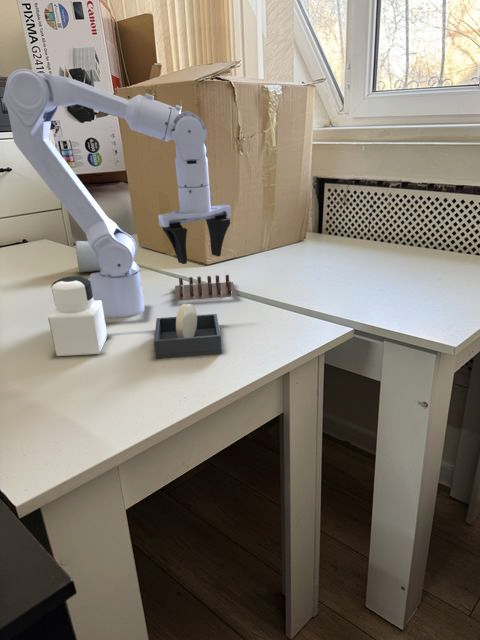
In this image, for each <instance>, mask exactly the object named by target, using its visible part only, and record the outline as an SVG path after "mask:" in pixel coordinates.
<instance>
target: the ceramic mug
mask: <svg viewBox="0 0 480 640" xmlns="http://www.w3.org/2000/svg"><path fill="white" fill-rule="evenodd" d="M75 252H76V261H77V268H78V272H79V273H91V272H100V270H101V268H100V266H99V265H98V262H97V257H96V254H95V252H94V251H93V249H92V248H91V247H90V245H89V242H88V240H76V241H75Z"/></svg>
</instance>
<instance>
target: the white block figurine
mask: <svg viewBox="0 0 480 640" xmlns="http://www.w3.org/2000/svg"><path fill="white" fill-rule="evenodd" d="M50 287H51V291H52V297H53V302H54V306H55V308H54V309H53V311H52V312H51V313H50V314H49V315H48V318H47V320H48V323H49V328H50V333H51V338H52V343H53V346H54V351H55V355H56V356H57V357H67V356H87V355H88V356H89V355H99V354H101V351H102V349H103V347H104V345H105V343H106V341H107V338H108V331H107V325H106V319H105V318H104V313H103V307H102V301H101V300H94V299H93V294H92V288H91V282H90V279H88V278H87V277H84V276H81V275H80V276H79V275H71V276H65V277H61V278H59V279H57V280H55V281H53V283H51V286H50Z"/></svg>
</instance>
